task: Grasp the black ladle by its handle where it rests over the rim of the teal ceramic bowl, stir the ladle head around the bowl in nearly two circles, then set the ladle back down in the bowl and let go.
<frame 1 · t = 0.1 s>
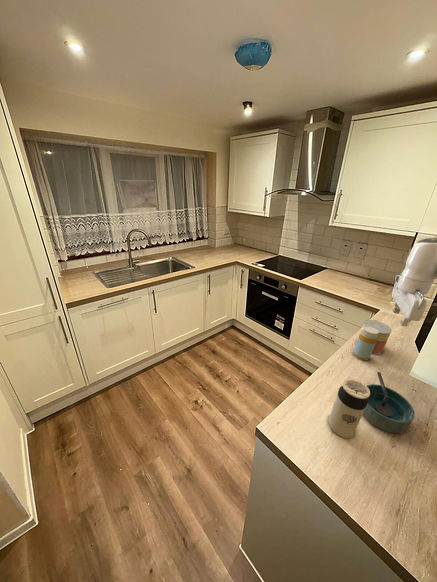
hand: (399, 318, 87), 29 cm above the worktop, tool pointing down, fingers open, 8 cm apart
ladle: (382, 413, 82), point 1 cm above the worktop, touching bowl
travel mug: (340, 426, 78), on the worktop
bowl: (381, 413, 83), on the worktop
bottle: (360, 356, 111), on the worktop
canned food: (369, 346, 118), on the worktop
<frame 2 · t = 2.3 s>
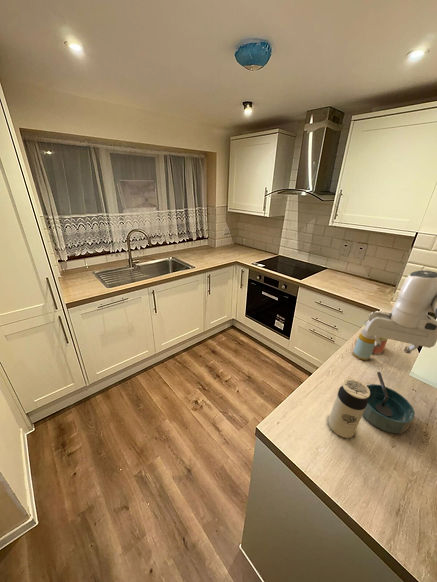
hand: (391, 348, 85), 20 cm above the worktop, tool pointing down, fingers open, 8 cm apart
nothing on the worktop moved.
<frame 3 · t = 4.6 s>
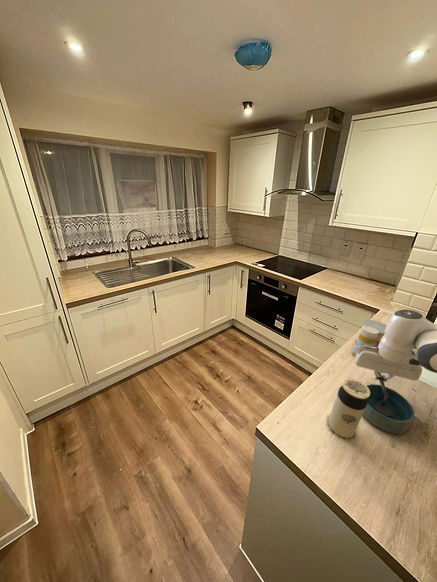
hand: (379, 379, 90), 6 cm above the worktop, tool pointing down, fingers closed on ladle
ladle: (382, 413, 82), point 1 cm above the worktop, touching bowl, gripper
everything else where it was.
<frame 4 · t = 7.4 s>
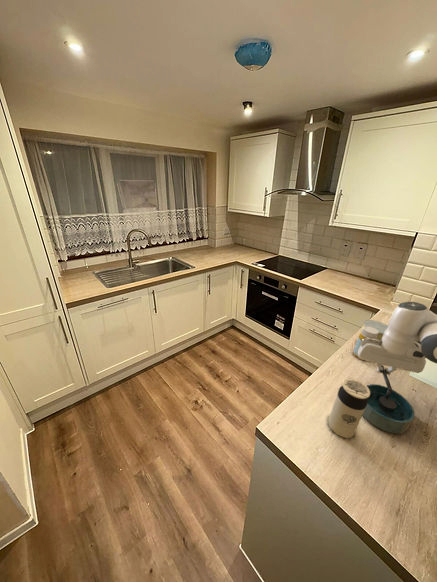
hand: (382, 372, 90), 8 cm above the worktop, tool pointing down, fingers closed on ladle
ladle: (386, 406, 82), point 3 cm above the worktop, touching gripper
everything else where it was.
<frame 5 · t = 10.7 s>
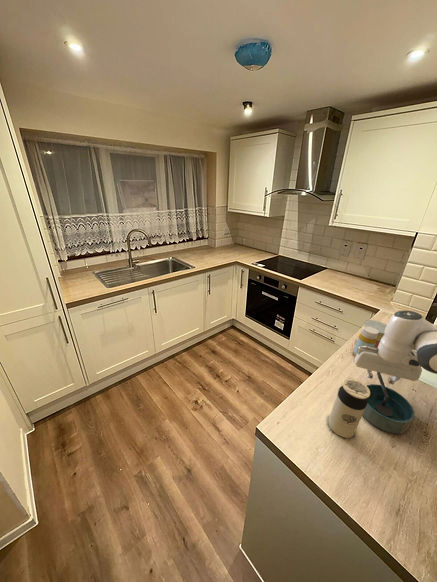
hand: (379, 380, 90), 5 cm above the worktop, tool pointing down, fingers open, 6 cm apart
ladle: (382, 413, 82), point 1 cm above the worktop, touching bowl
everything else where it was.
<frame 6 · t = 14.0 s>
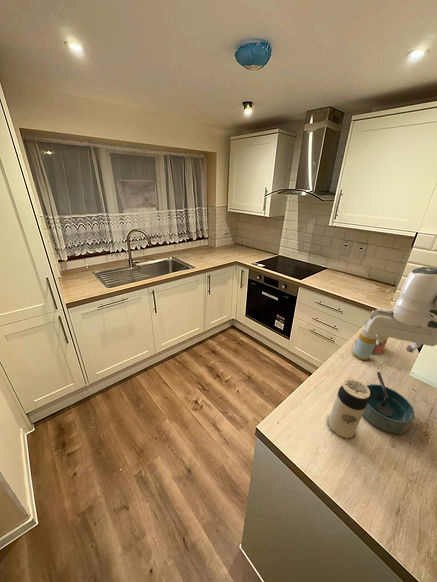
hand: (393, 347, 83), 21 cm above the worktop, tool pointing down, fingers open, 8 cm apart
nothing on the worktop moved.
at the end: ladle inside the target area in the bowl (0.5 cm from its centre), point 0.6 cm above the bowl's base; the gripper is holding nothing; ladle touching bowl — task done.
